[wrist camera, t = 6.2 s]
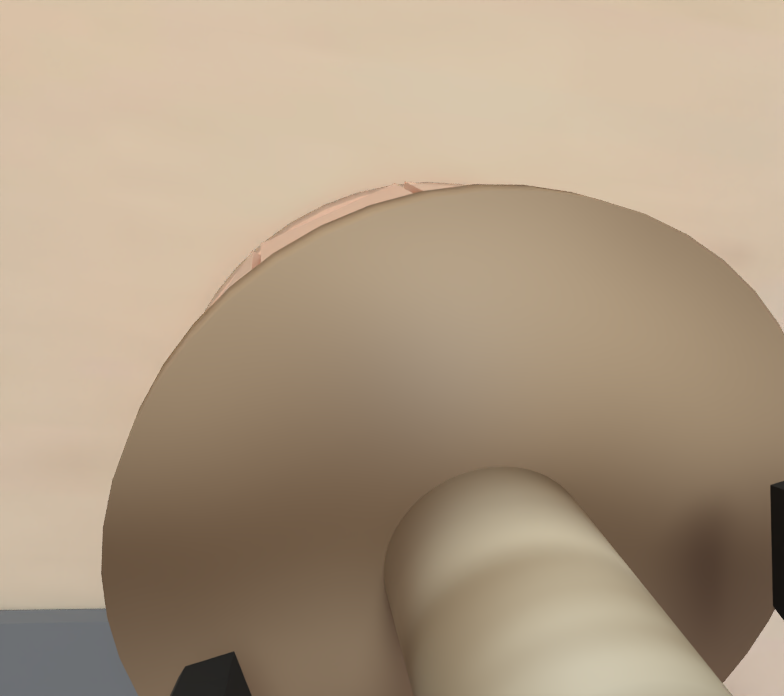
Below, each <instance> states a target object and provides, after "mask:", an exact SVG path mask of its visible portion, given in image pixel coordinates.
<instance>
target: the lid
mask: <svg viewBox="0 0 784 696" xmlns="http://www.w3.org/2000/svg"><path fill="white" fill-rule="evenodd" d="M781 481H784V333H783V331H782V329H781V327H780V325H779V324H778V322H777V321H776V319H775V318H774V317H773V315H772V314H771V313H770V311H769V310H768V308H767V307H766V306H765V304H764V303H763V302H762V300H761V299H760V297H759V296H758V295H757V293H756V292H755V291H754V290H753V289H752V288H751V287H750V286H749V285H748V284H747V283H746V282H745V281H744V280H743V279H742V278H741V277H740V276H739V275H738V274H737V273H736V272H735V271H734V270H733V269H732V268H731V267H730V266H729V265H728V264H727V263H726V262H725V261H724V260H723V259H721V258H720V257H718V256H717V255H715V254H714V253H713V252H711V251H710V250H708V249H707V248H706V247H704V246H703V245H701V244H700V243H698V242H697V241H696V240H694V239H693V238H691V237H690V236H689V235H687V234H685V233H683V232H681V231H679V230H677V229H675V228H673V227H671V226H669V225H667V224H665V223H663V222H660V221H658V220H656V219H654V218H652V217H650V216H648V215H646V214H644V213H640V212H637V211H634V210H631V209H627V208H624V207H621V206H618V205H615V204H611V203H608V202H605V201H602V200H598V199H595V198H591V197H587V196H584V195H580V194H576V193H572V192H566V191H560V190H553V189H547V188H540V187H534V186H527V185H479V184H473V185H465V186H457V187H450V188H442V189H434V190H426V191H420V192H416V193H413V194H409V195H405V196H402V197H398V198H394V199H390V200H387V201H383V202H379V203H375V204H372V205H369V206H366V207H364V208H362V209H359V210H357V211H354V212H352V213H350V214H347V215H345V216H342V217H340V218H338V219H335V220H333V221H330V222H328V223H326V224H323V225H321V226H319V227H317V228H315V229H314V230H312V231H310V232H309V233H307V234H305V235H303V236H302V237H300V238H298V239H297V240H295V241H293V242H291V243H290V244H288V245H286V246H285V247H283V248H281V249H279V250H278V251H276V252H274V253H273V254H271V255H270V256H269V257H268V258H266V259H265V260H264V261H262V262H261V263H260V264H259V265H257V266H256V267H255V268H253V269H252V270H251V271H249V272H248V273H247V274H246V275H244V276H243V277H242V278H240V279H239V280H238V281H237V282H235V283H234V284H233V285H231V286H230V287H229V288H228V289H227V290H226V291H225V292H224V293H223V294H222V295H221V296H220V297H219V298H218V300H217V301H216V302H215V303H214V304H213V305H212V306H211V307H210V308H209V309H208V310H207V311H206V312H205V313H204V314H203V315H202V316H201V317H200V318H199V319H198V320H197V321H196V322H195V323H194V324H193V325H192V327H191V328H190V329H189V331H188V332H187V333H186V335H185V336H184V337H183V339H182V340H181V342H180V343H179V344H178V346H177V347H176V348H175V350H174V351H173V352H172V354H171V355H170V356H169V358H168V359H167V360H166V362H165V363H164V364H163V366H162V368H161V370H160V372H159V374H158V375H157V377H156V379H155V381H154V383H153V385H152V386H151V388H150V390H149V392H148V394H147V396H146V397H145V399H144V401H143V403H142V405H141V407H140V409H139V411H138V414H137V416H136V419H135V421H134V424H133V426H132V429H131V431H130V434H129V437H128V439H127V442H126V445H125V448H124V450H123V453H122V456H121V458H120V461H119V464H118V467H117V469H116V472H115V475H114V478H113V480H112V485H111V490H110V495H109V500H108V505H107V510H106V515H105V520H104V526H103V542H102V571H101V575H102V582H103V590H104V598H105V605H106V613H107V619H108V622H109V625H110V629H111V632H112V635H113V639H114V642H115V645H116V648H117V652H118V655H119V658H120V660H121V662H122V664H123V666H124V668H125V670H126V672H127V674H128V676H129V678H130V680H131V682H132V684H133V686H134V688H135V690H136V692H137V694H138V696H170V694H171V692H172V690H173V688H174V686H175V684H176V682H177V679H178V677H179V675H180V674H181V672H182V671H183V669H184V667H185V666H188V665H191V664H194V663H198V662H201V661H204V660H207V659H211V658H214V657H217V656H220V655H223V654H227V653H230V652H233V651H234V652H235V655H236V657H237V660H238V662H239V665H240V667H241V670H242V672H243V675H244V677H245V680H246V682H247V685H248V688H249V690H250V693H251V695H252V696H732V694H731V693H730V692H729V691H728V689H727V688H726V687H725V686H724V685H723V682H724V681H725V680H726V678H727V677H728V676H729V675H730V674H731V672H732V671H733V670H734V669H735V667H736V666H737V665H738V664H739V663H740V661H741V660H742V659H743V658H744V656H745V655H746V654H747V653H748V651H749V650H750V648H751V647H752V645H753V644H754V642H755V641H756V639H757V638H758V636H759V635H760V633H761V631H762V630H763V628H764V627H765V625H766V624H767V622H768V621H769V619H770V617H771V615H772V613H773V611H774V610H775V608H774V607H773V592H772V546H771V500H770V485H772V484H775V483H778V482H781Z"/></svg>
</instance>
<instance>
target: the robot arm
mask: <svg viewBox="0 0 784 696" xmlns="http://www.w3.org/2000/svg"><path fill="white" fill-rule="evenodd" d="M770 500H771V546H772V592H773V607H774V608H775V609H776V611H777V612H778V613H779V615H780V616H781V617H782V618H783V620H784V481H781V482H778V483H775V484H772V485H770ZM170 696H252V695H251V693H250V690H249V688H248V685H247V682H246V680H245V677H244V675H243V672H242V670H241V667H240V665H239V662H238V660H237V657H236V655H235V652H234V651H233V652H230V653H227V654H223V655H220V656H217V657H214V658H211V659H207V660H204V661H201V662H198V663H194V664H191V665H188V666H185V667H184V669H183V671H182V672H181V674H180V675H179V677H178V679H177V682H176V684H175V686H174V688H173V690H172V692H171V694H170Z"/></svg>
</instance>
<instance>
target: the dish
mask: <svg viewBox="0 0 784 696" xmlns="http://www.w3.org/2000/svg"><path fill="white" fill-rule="evenodd" d="M457 186H465V185H462V184H449V183H428V182H423V183H412V182H405V184H401V185H397V184H395V183H394V184H392V185H390V186H386V187H381V188H377V189H373V190H368V191H364V192H359V193H355V194H353V195H350V196H347V197H345V198H342V199H339V200H337V201H334V202H331V203H329V204H326V205H323V206H321V207H319V208H318V209H316V210H314V211H312V212H310V213H308V214H306V215H304V216H303V217H301V218H299V219H297V220H295V221H293V222H291V223H290V224H289V225H287V226H286V227H284V228H283V229H282V230H280V231H279V232H277V233H276V234H275V235H273V236H272V237H270V238H269V239H268V240H266V241H265V242H263V243H261V245H260V246H259V247H258V248H257V249H256V250H255V251H252V252H251V253H250V255H249V256H248V257H247V258H246V259H245V260H244V261H243V262H242V263H241V264H240V265H239V266H238V267H237V268H236V269H235V270H234V272H233V273H232V274H231V275H230V277H229V278H228V279H227V280H226V281H225V283H224V284H223V285H222V286H221V288H220V289H219V290H218V291H217V293H216V294H215V295H214V297H213V299H212V300H211V302H210V304H209V305H208V307H207V309H206V310H205V312H206V311H207V310H208V309H209V308H210V307H211V306H212V305H213V304H214V303H215V302H216V301H217V300H218V298H219V297H220V296H221V295H222V294H223V293H224V292H225V291H226V290H227V289H228V288H229V287H230V286H231V285H233V284H234V283H235V282H237V281H238V280H239V279H240V278H242V277H243V276H244V275H246V274H247V273H248V272H249V271H251V270H252V269H253V268H255V267H256V266H257V265H259V264H260V263H261V262H262V261H264V260H265V259H266V258H268V257H269V256H270V255H271V254H273V253H274V252H276V251H278V250H279V249H281V248H283V247H285V246H286V245H288V244H290V243H291V242H293V241H295V240H297V239H298V238H300V237H302V236H303V235H305V234H307V233H309V232H310V231H312V230H314V229H315V228H317V227H319V226H321V225H323V224H326V223H328V222H330V221H333V220H335V219H338V218H340V217H342V216H345V215H347V214H350V213H352V212H354V211H357V210H359V209H362V208H364V207H366V206H369V205H372V204H375V203H379V202H383V201H387V200H390V199H394V198H398V197H402V196H405V195H409V194H413V193H416V192H420V191H426V190H434V189H442V188H450V187H457ZM205 312H204V313H205Z"/></svg>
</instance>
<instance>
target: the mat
mask: <svg viewBox="0 0 784 696" xmlns="http://www.w3.org/2000/svg"><path fill="white" fill-rule="evenodd" d="M0 696H138V694H137V692H136V690H135V688H134V686H133V684H132V682H131V680H130V678H129V676H128V674H127V672H126V670H125V668H124V666H123V664H122V662H121V660H120V658H119V655H118V652H117V648H116V645H115V642H114V639H113V635H112V632H111V629H110V625H109V622H108V619H107V613H106V609H59V610H0Z"/></svg>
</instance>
